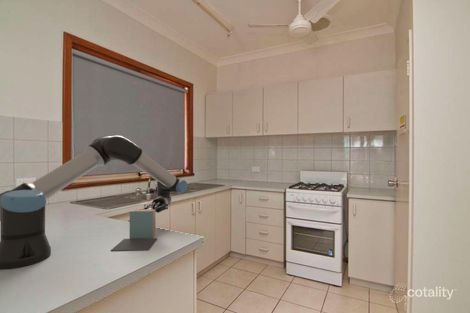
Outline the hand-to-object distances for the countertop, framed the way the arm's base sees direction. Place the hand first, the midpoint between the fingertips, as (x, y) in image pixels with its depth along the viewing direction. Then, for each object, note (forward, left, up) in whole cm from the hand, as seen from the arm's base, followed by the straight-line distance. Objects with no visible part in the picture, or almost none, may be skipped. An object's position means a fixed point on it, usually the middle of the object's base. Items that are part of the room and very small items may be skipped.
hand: (147, 213), depth 113 cm
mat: (-15, 0, -9) cm, 18 cm away
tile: (-6, 0, -9) cm, 11 cm away
